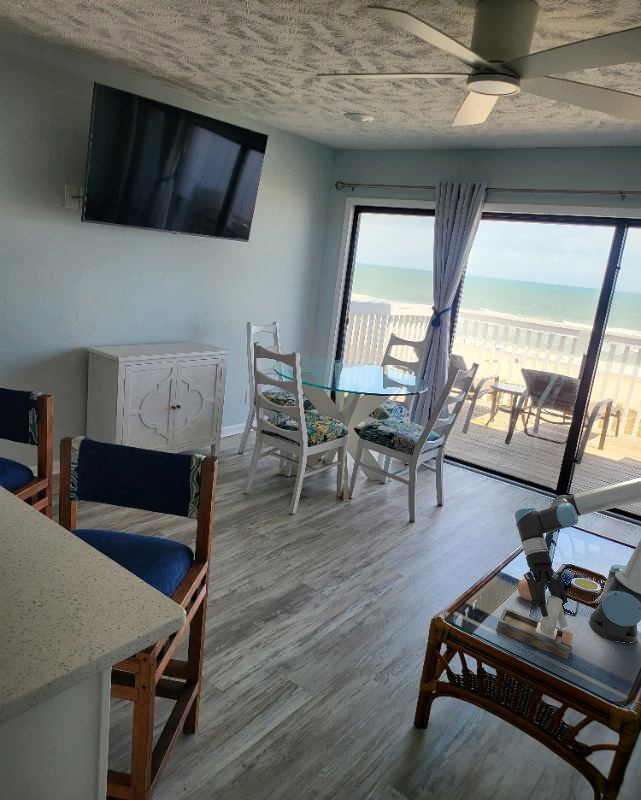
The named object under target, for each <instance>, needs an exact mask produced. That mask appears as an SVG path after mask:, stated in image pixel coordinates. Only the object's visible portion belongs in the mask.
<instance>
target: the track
mask: <svg viewBox="0 0 641 800" xmlns="http://www.w3.org/2000/svg"><path fill="white" fill-rule="evenodd" d="M541 621H542V620H539V619H536V618H534V617H532V616H529V615H526V614H524V613H521V612H518V611H515V610H513V609H511V608H508V607H504V608H503V611H502V612H501V615H500V617H499V620H498V622H497V625H496V631H497V632H499V633H501V634H504V635H506V636H508V637H511V638H514V639H516V640H519V641H521V642H524V643H526V644H529V645H531V646H533V647H535V648H538V649H541V650H543V651H546V652H548V653H551V654H553V655H556V656H557V657H561V658H564V659H566V660H568V659H569V655H570V653H571V648H572V643H573V639H574V638H573V637H574V632H573V633H572V632H570V631H567V630H565V629H564V628H560V627H557V626H556V627H555V629H558V630H557V634H556V638H555V641H554V640H552V639H549V638H547V637H544V636H542V635H539V634H537V633H535V632H536V629H537V625H538V622H540V623H541Z"/></svg>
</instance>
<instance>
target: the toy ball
mask: <svg viewBox="0 0 641 800" xmlns="http://www.w3.org/2000/svg"><path fill="white" fill-rule="evenodd" d="M534 580H535V578H534ZM517 591H518V594H519V595H520V597H521V598H522V599H524V600H525V601H532V598H531V594H530V591H529V587H528V584H527V581H526V579H525V577H523V578H522V579H521V580H520V581H519V582H518V584H517Z"/></svg>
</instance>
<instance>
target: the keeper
mask: <svg viewBox="0 0 641 800" xmlns="http://www.w3.org/2000/svg"><path fill="white" fill-rule="evenodd" d="M546 599H547V600H546V605H549V608H550V612H551V616H552V619H553V623H554V626H555V627H557V623H558V617H559V613H560V610H561V606H562V603H563V601H562V600H561V599H560V598H558V597H556V596H551V595H548V596H547V598H546ZM540 621H541V623H540V622H538V625H537V629H536V632H535V633H537V634H539V635H542V636H544V637H547V638H549V639H552V640H554V641H555V638H556V634H557V630H558V629H555V627H552V628H548V629H547V626H546V623H545V619H544V617H543V616H542V619H541V620H540Z"/></svg>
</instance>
